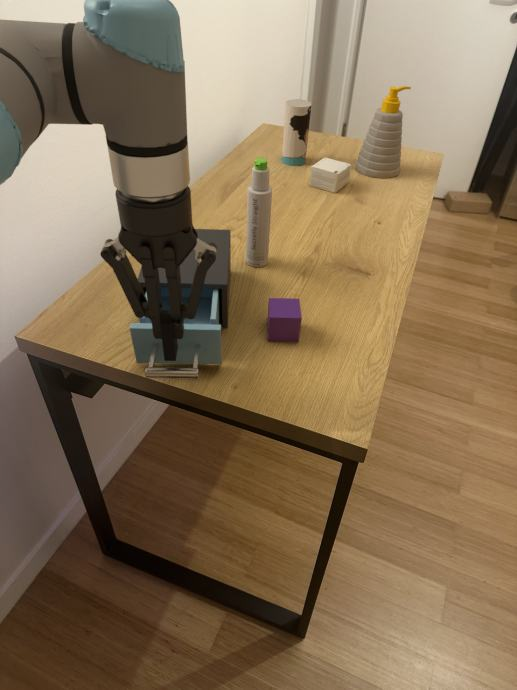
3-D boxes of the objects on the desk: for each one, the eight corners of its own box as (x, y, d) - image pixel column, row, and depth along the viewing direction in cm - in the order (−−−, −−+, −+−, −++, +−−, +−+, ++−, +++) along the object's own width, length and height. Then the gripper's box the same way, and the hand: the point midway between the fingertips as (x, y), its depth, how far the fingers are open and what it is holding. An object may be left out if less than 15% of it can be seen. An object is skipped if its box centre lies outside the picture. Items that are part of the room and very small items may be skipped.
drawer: (219, 396, 64) (218, 361, 60) (128, 395, 64) (120, 359, 59) (225, 300, 80) (224, 267, 75) (152, 299, 80) (147, 265, 75)
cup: (307, 165, 128) (314, 107, 118) (284, 166, 127) (288, 107, 117) (302, 156, 133) (308, 99, 123) (279, 156, 132) (283, 99, 122)
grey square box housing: (227, 327, 76) (227, 284, 70) (144, 326, 76) (136, 282, 70) (230, 270, 89) (230, 229, 83) (158, 269, 88) (153, 227, 82)
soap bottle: (409, 174, 126) (431, 92, 112) (372, 181, 122) (390, 96, 108) (381, 158, 134) (398, 79, 120) (345, 164, 130) (359, 83, 116)
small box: (322, 175, 123) (324, 156, 120) (348, 183, 120) (352, 163, 117) (308, 185, 118) (310, 165, 115) (335, 194, 115) (338, 173, 112)
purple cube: (268, 341, 74) (269, 317, 71) (267, 321, 78) (268, 297, 75) (298, 341, 75) (301, 317, 71) (296, 321, 78) (299, 298, 75)
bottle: (241, 261, 91) (242, 160, 78) (255, 252, 94) (259, 153, 80) (258, 269, 89) (263, 167, 76) (272, 260, 92) (279, 160, 78)
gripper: (219, 173, 50) (220, 336, 66) (96, 168, 49) (128, 334, 65) (215, 205, 44) (218, 375, 60) (77, 200, 43) (117, 372, 59)
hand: (171, 353), depth 63 cm, fingers closed
